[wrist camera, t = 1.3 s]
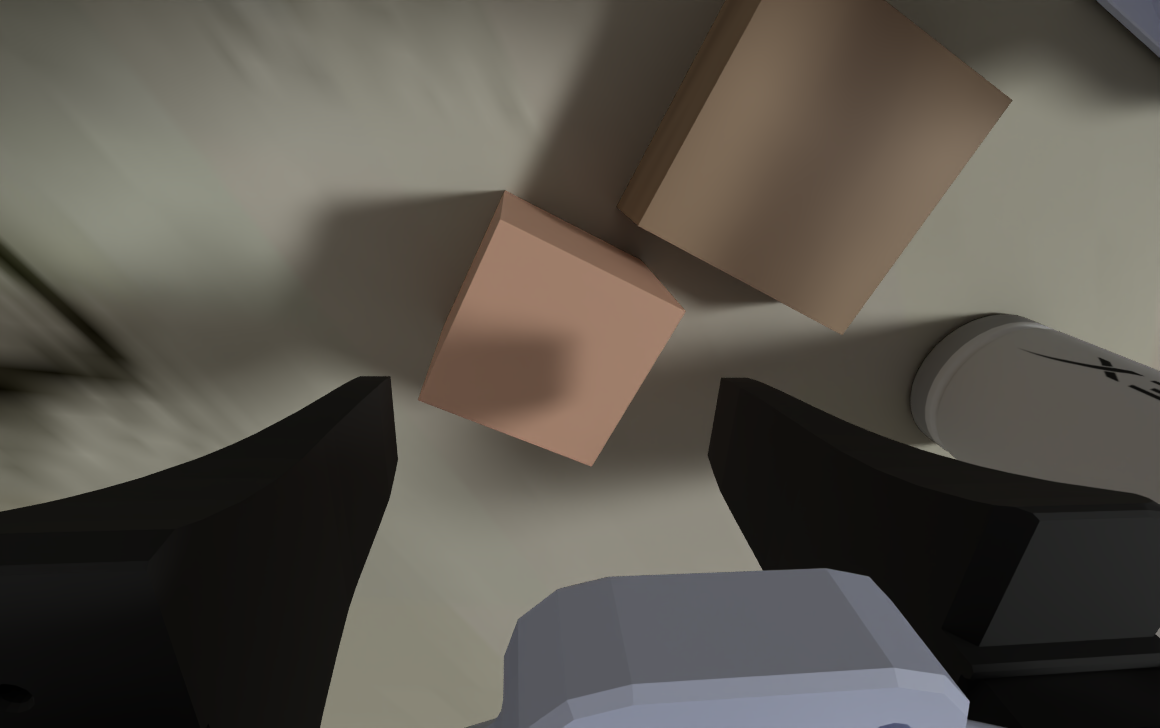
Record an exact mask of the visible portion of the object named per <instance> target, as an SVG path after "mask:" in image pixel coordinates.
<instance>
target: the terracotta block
mask: <svg viewBox="0 0 1160 728" xmlns="http://www.w3.org/2000/svg"><path fill="white" fill-rule="evenodd" d="M685 312H686V311H685V310H684V309H683V307H682V306H681V305H680V304H679V303H678V302H677V301H676V299H675V298H674V297H673V296H672V295H671V294H670V293H669V291H668V290H667V289H666V288H665V287H664V286H663V285H662V283H661V282H660V281H659V280H658V279H657V278H656V277H655V275H654V274H653V273H652V272H651V271H650V270H649V269H648V267H647V266H646V265H645V264H644V263H643V262H642V260H640V259H638V258H636V257H634V256H632V255H630V254H628V253H626V252H624V251H622V250H620V249H618V248H617V247H615V246H613V245H611V244H609V243H607V242H605V241H603V240H601V239H599V238H597V237H595V236H593V235H591V234H589V233H587V232H585V231H583V230H581V229H579V228H578V227H576V226H574V225H572V224H570V223H568V222H566V221H564V220H562V219H560V218H558V217H556V216H554V215H552V214H550V213H548V212H546V211H544V210H542V209H540V208H539V207H537V206H535V205H533V204H531V203H529V202H527V201H525V200H523V199H521V198H519V197H517V196H515V195H513V194H511V193H509V192H507V191H504V193H503V195H502V198H501V200H500V202H499V204H498V206H497V209H496V211H495V213H494V215H493V218H492V220H491V222H490V224H489V226H488V229H487V231H486V233H485V235H484V238H483V240H482V242H481V244H480V246H479V249H478V251H477V253H476V255H475V258H474V260H473V262H472V264H471V266H470V269H469V271H468V273H467V275H466V278H465V280H464V282H463V284H462V286H461V289H460V291H459V293H458V295H457V298H456V300H455V302H454V304H453V306H452V309H451V311H450V313H449V315H448V318H447V320H446V322H445V324H444V326H443V329H442V332H441V335H440V338H439V341H438V344H437V347H436V349H435V352H434V355H433V358H432V361H431V364H430V367H429V370H428V373H427V375H426V378H425V381H424V384H423V387H422V390H421V393H420V396H419V398H418V400H419V401H422V402H424V403H427V404H429V405H432V406H435V407H437V408H440V409H442V410H445V411H448V412H450V413H453V414H456V415H458V416H461V417H463V418H466V419H469V420H471V421H474V422H476V423H479V424H482V425H484V426H487V427H490V428H492V429H495V430H497V431H500V432H503V433H505V434H508V435H510V436H513V437H516V438H518V439H521V440H524V441H526V442H529V443H531V444H534V445H537V446H539V447H542V448H544V449H547V450H550V451H552V452H555V453H557V454H560V455H563V456H565V457H568V458H571V459H573V460H576V461H578V462H581V463H584V464H586V465H589V466H591V467H592V465H593V463H594V462H595V460H596V459H597V457H598V455H599V454H600V452H601V450H602V449H603V447H604V445H605V444H606V442H607V440H608V439H609V437H610V435H611V434H612V432H613V431H614V429H615V427H616V426H617V424H618V422H619V421H620V419H621V417H622V416H623V414H624V412H625V411H626V409H627V407H628V406H629V404H630V403H631V401H632V399H633V398H634V396H635V394H636V393H637V391H638V389H639V388H640V386H641V384H642V383H643V381H644V379H645V378H646V376H647V374H648V373H649V371H650V370H651V368H652V366H653V365H654V363H655V361H656V360H657V358H658V356H659V355H660V353H661V351H662V350H663V348H664V346H665V345H666V343H667V342H668V340H669V338H670V337H671V335H672V333H673V332H674V330H675V328H676V327H677V325H678V323H679V322H680V320H681V318H682V317H683V315H684V314H685Z"/></svg>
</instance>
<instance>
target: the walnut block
mask: <svg viewBox="0 0 1160 728" xmlns="http://www.w3.org/2000/svg"><path fill="white" fill-rule="evenodd" d="M1011 102H1012V99H1010V98H1009V97H1008V96H1006V95H1005V94H1004V93H1003V92H1001V91H1000V90H999V89H997V88H996V87H995V86H994V85H992V84H991V83H990V82H989V81H987V80H986V79H985V78H983V77H982V76H981V75H980V74H978V73H977V72H976V71H974V70H973V69H972V68H971V67H969V66H968V65H967V64H966V63H964V62H963V61H962V60H960V59H959V58H958V57H957V56H955V55H954V54H953V53H951V52H950V51H949V50H948V49H946V48H945V47H944V46H943V45H941V44H940V43H939V42H937V41H936V40H935V39H934V38H932V37H931V36H930V35H928V34H927V33H926V32H925V31H923V30H922V29H921V28H920V27H918V26H917V25H916V24H914V23H913V22H912V21H911V20H909V19H908V18H907V17H905V16H904V15H903V14H902V13H900V12H899V11H898V10H897V9H895V8H894V7H893V6H891V5H890V4H889V3H888V2H886V1H885V0H725V2H724V4H723V6H722V8H721V10H720V12H719V14H718V15H717V17H716V19H715V21H714V23H713V25H712V27H711V29H710V31H709V32H708V34H707V36H706V38H705V40H704V42H703V44H702V46H701V48H700V50H699V51H698V53H697V55H696V57H695V59H694V61H693V63H692V65H691V67H690V68H689V70H688V72H687V74H686V76H685V78H684V80H683V82H682V84H681V86H680V87H679V89H678V91H677V93H676V95H675V97H674V99H673V101H672V103H671V105H670V106H669V108H668V110H667V112H666V114H665V116H664V118H663V120H662V122H661V123H660V125H659V127H658V129H657V131H656V133H655V135H654V137H653V139H652V141H651V142H650V144H649V146H648V148H647V150H646V152H645V154H644V156H643V158H642V159H641V161H640V163H639V165H638V167H637V169H636V171H635V173H634V175H633V177H632V178H631V180H630V182H629V184H628V186H627V188H626V190H625V192H624V194H623V195H622V197H621V199H620V201H619V203H618V205H617V208H618V209H620V210H621V211H622V212H623V213H624V214H625V215H626V216H627V217H629V218H630V219H631V220H632V221H633V222H634V223H635V224H637V225H638V226H639V227H641V228H643V229H645V230H647V231H649V232H651V233H652V234H654V235H656V236H658V237H660V238H662V239H664V240H665V241H667V242H669V243H671V244H673V245H675V246H677V247H679V248H680V249H682V250H684V251H686V252H688V253H690V254H692V255H693V256H695V257H697V258H699V259H701V260H703V261H705V262H707V263H708V264H710V265H712V266H714V267H716V268H718V269H720V270H721V271H723V272H725V273H727V274H729V275H731V276H733V277H735V278H736V279H738V280H740V281H742V282H744V283H746V284H748V285H750V286H751V287H753V288H755V289H757V290H759V291H761V292H763V293H764V294H766V295H768V296H770V297H772V298H774V299H776V300H778V301H779V302H781V303H783V304H785V305H787V306H789V307H791V308H792V309H794V310H796V311H798V312H800V313H802V314H804V315H806V316H807V317H809V318H811V319H813V320H815V321H817V322H819V323H820V324H822V325H824V326H826V327H828V328H830V329H832V330H834V331H835V332H837V333H839V334H841V335H843V333H844V332H845V331H846V329H847V328H848V326H849V325H850V324H851V322H852V321H853V320H854V318H855V317H856V315H857V314H858V313H859V311H860V310H861V309H862V307H863V306H864V304H865V303H866V302H867V300H868V299H869V298H870V296H871V295H872V293H873V292H874V291H875V289H876V288H877V286H878V285H879V284H880V282H881V281H882V280H883V278H884V277H885V275H886V274H887V273H888V271H889V270H890V269H891V267H892V266H893V264H894V263H895V262H896V260H897V259H898V258H899V256H900V255H901V253H902V252H903V251H904V249H905V248H906V246H907V245H908V244H909V242H910V241H911V240H912V238H913V237H914V235H915V234H916V233H917V231H918V230H919V229H920V227H921V226H922V224H923V223H924V222H925V220H926V219H927V217H928V216H929V215H930V213H931V212H932V211H933V209H934V208H935V206H936V205H937V204H938V202H939V201H940V200H941V198H942V197H943V195H944V194H945V193H946V191H947V190H948V189H949V187H950V186H951V184H952V183H953V182H954V180H955V179H956V177H957V176H958V175H959V173H960V172H961V171H962V169H963V168H964V166H965V165H966V164H967V162H968V161H969V160H970V158H971V157H972V155H973V154H974V153H975V151H976V150H977V149H978V147H979V146H980V144H981V143H982V142H983V140H984V139H985V137H986V136H987V135H988V133H989V132H990V131H991V129H992V128H993V126H994V125H995V124H996V122H997V121H998V120H999V118H1000V117H1001V115H1002V114H1003V113H1004V111H1005V110H1006V109H1007V107H1008V106H1009V104H1010V103H1011Z"/></svg>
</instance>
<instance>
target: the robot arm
mask: <svg viewBox="0 0 1160 728" xmlns="http://www.w3.org/2000/svg"><path fill="white" fill-rule="evenodd" d="M1096 1H1097V2H1098V3H1100V4H1101V5H1102V6H1103V7H1104V8H1105V9H1106V10H1107V11H1108V12H1109V13H1111V14H1112V15H1113V16H1114V17H1115V18H1116V19H1117V20H1118V21H1119V22H1121V23H1122V24H1123V25H1124V26H1125V27H1126V28H1127V29H1128V30H1129V31H1131V32H1132V33H1133V34H1134V35H1135V36H1136V37H1137V38H1138V39H1139V40H1141V41H1142V42H1143V43H1144V44H1145V45H1146V46H1147V47H1148V48H1149V49H1150V50H1152V51H1153V52H1154V53H1155V54H1156V55H1157V56H1158V57H1159V58H1160V0H1096ZM708 458H709V461H710V464H711V467H712V470H713V473H714V476H715V478H716V481H717V484H718V486H719V489H720V492H721V493H722V495H723V497H724V499H725V501H726V503H727V505H728V507H729V509H730V511H731V513H732V514H733V516H734V518H735V520H736V522H737V524H738V526H739V527H740V529H741V531H742V533H743V535H744V537H745V538H746V540H747V542H748V544H749V546H750V548H751V549H752V551H753V553H754V555H755V557H756V559H757V560H758V562H759V564H760V566H761V568H762V570H763V571H743V572H717V573H692V574H666V575H641V576H616V577H605V578H601V579H597V580H592V581H588V582H584V583H580V584H576V585H572V586H567V587H563V588H560V589H557V590H556V591H555V592H553V593H552V594H551V595H549V596H548V597H547V598H545V599H544V600H543V601H541V602H540V603H539V604H538V605H536V606H535V607H534V608H532V609H531V610H530V611H528V612H527V613H526V614H524V615H523V616H522V617H521V618H519V619H518V621H517V624H516V626H515V629H514V632H513V634H512V637H511V640H510V642H509V645H508V648H507V650H506V653H505V655H504V690H503V704H502V709H501V712H500V714H499V715H498V717H497V718H495V719H492V720H489V721H485V722H482V723H479V724H475V725H472V726H469V727H466V728H1160V638H1159V637H1158V636H1157V635H1155V633H1156V632H1157V631H1158V629H1159V628H1160V504H1158V503H1156V502H1155V501H1153V500H1151V499H1150V498H1147V497H1144V496H1142V495H1138V494H1135V493H1129V492H1122V491H1115V490H1108V489H1101V488H1095V487H1088V486H1081V485H1074V484H1067V483H1060V482H1054V481H1049V480H1043V479H1038V478H1033V477H1028V476H1023V475H1018V474H1013V473H1008V472H1004V471H999V470H995V469H991V468H986V467H982V466H978V465H974V464H970V463H967V462H963V461H959V460H955V459H952V458H948V457H944V456H941V455H937V454H934V453H931V452H927V451H924V450H921V449H918V448H915V447H912V446H909V445H906V444H903V443H900V442H897V441H894V440H891V439H889V438H886V437H883V436H880V435H878V434H875V433H873V432H870V431H867V430H865V429H863V428H860V427H858V426H856V425H853V424H851V423H849V422H846V421H844V420H841V419H839V418H837V417H835V416H833V415H830V414H828V413H826V412H824V411H822V410H820V409H817V408H815V407H813V406H811V405H809V404H807V403H805V402H803V401H801V400H799V399H796V398H794V397H792V396H790V395H788V394H786V393H784V392H782V391H780V390H777V389H775V388H773V387H771V386H768V385H766V384H764V383H761V382H759V381H756V380H753V379H750V378H721V382H720V388H719V393H718V399H717V405H716V411H715V416H714V422H713V428H712V434H711V440H710V445H709V451H708ZM397 462H398V455H397V444H396V433H395V422H394V411H393V400H392V389H391V379H390V376H360V377H357V378H355V379H353V380H351V381H349V382H347V383H345V384H344V385H342V386H340V387H338V388H337V389H335V390H333V391H332V392H330V393H328V394H327V395H325V396H323V397H321V398H320V399H318V400H316V401H315V402H313V403H311V404H310V405H308V406H306V407H304V408H303V409H301V410H299V411H298V412H296V413H294V414H292V415H290V416H288V417H286V418H284V419H283V420H281V421H279V422H277V423H275V424H273V425H271V426H269V427H267V428H266V429H264V430H262V431H260V432H258V433H256V434H254V435H252V436H250V437H248V438H245V439H243V440H241V441H239V442H237V443H234V444H232V445H230V446H227V447H225V448H222V449H220V450H218V451H215V452H213V453H210V454H208V455H206V456H203V457H200V458H198V459H195V460H192V461H189V462H186V463H183V464H180V465H177V466H174V467H171V468H169V469H166V470H163V471H160V472H157V473H154V474H151V475H148V476H145V477H142V478H139V479H135V480H132V481H129V482H125V483H121V484H118V485H114V486H111V487H107V488H104V489H100V490H96V491H92V492H88V493H84V494H80V495H76V496H72V497H68V498H64V499H60V500H55V501H51V502H47V503H42V504H37V505H32V506H27V507H22V508H17V509H12V510H7V511H2V512H0V728H320V725H321V720H322V716H323V711H324V707H325V703H326V698H327V694H328V690H329V686H330V682H331V677H332V673H333V669H334V665H335V661H336V656H337V653H338V649H339V645H340V641H341V637H342V633H343V629H344V625H345V622H346V618H347V614H348V610H349V607H350V604H351V601H352V598H353V594H354V591H355V588H356V586H357V583H358V580H359V578H360V575H361V573H362V570H363V567H364V565H365V562H366V560H367V557H368V554H369V552H370V549H371V546H372V544H373V541H374V539H375V536H376V533H377V531H378V528H379V526H380V523H381V520H382V517H383V515H384V512H385V509H386V507H387V504H388V501H389V498H390V494H391V490H392V485H393V481H394V476H395V471H396V466H397Z"/></svg>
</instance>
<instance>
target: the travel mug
mask: <svg viewBox="0 0 1160 728" xmlns="http://www.w3.org/2000/svg"><path fill="white" fill-rule="evenodd" d="M911 411H912V415H913V418H914V421H915V422H916V424H917V426H918V428H919V429H920V430H921V431H922V432H923V433H924V434H925V435H926V436H928V437H929V438H930V439H931V440H933V441H934V442H935V443H937V444H938V445H939V446H940V447H942V448H943V449H944V450H946V451H948V452H949V453H950V454H951V455H952V456H953V457H955V458H956V459H957V460H959V461H963V462H967V463H970V464H974V465H978V466H982V467H986V468H991V469H995V470H999V471H1004V472H1008V473H1013V474H1018V475H1023V476H1028V477H1033V478H1038V479H1043V480H1049V481H1054V482H1060V483H1067V484H1074V485H1081V486H1088V487H1095V488H1101V489H1108V490H1115V491H1122V492H1129V493H1135V494H1138V495H1142V496H1144V497H1147V498H1150V499H1151V500H1153V501H1155V502H1156V503H1158V504H1160V371H1159V370H1156V369H1154V368H1151V367H1149V366H1146V365H1143V364H1141V363H1138V362H1136V361H1133V360H1131V359H1128V358H1126V357H1123V356H1121V355H1118V354H1116V353H1113V352H1111V351H1108V350H1106V349H1103V348H1100V347H1098V346H1095V345H1093V344H1090V343H1088V342H1085V341H1083V340H1080V339H1078V338H1075V337H1073V336H1070V335H1068V334H1065V333H1062V332H1059V331H1056V330H1054V329H1052V328H1050V327H1047V326H1045V325H1042V324H1040V323H1037V322H1035V321H1032V320H1030V319H1027V318H1024V317H1021V316H1018V315H1009V314H1001V315H992V316H987V317H984V318H981V319H977V320H974V321H972V322H970V323H968V324H965V325H963V326H961V327H959V328H958V329H956V330H955V331H953V332H952V333H950V334H949V335H947V336H946V337H945V338H944V339H943V340H942V341H941V342H940V343H938V344H937V345H936V346H935V347H934V348H933V350H932V351H931V352H930V353H929V354H928V356H927V357H926V358H925V360H924V361H923V363H922V365H921V366H920V368H919V370H918V372H917V374H916V377H915V379H914V382H913V386H912V391H911Z"/></svg>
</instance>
